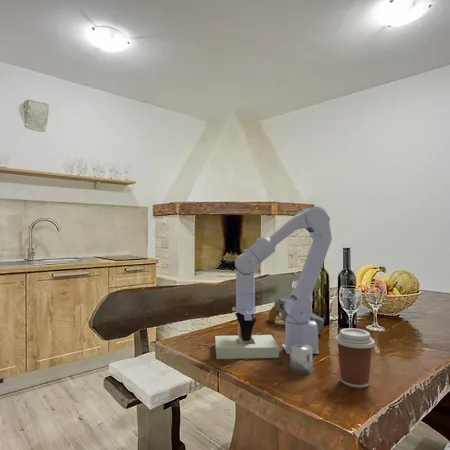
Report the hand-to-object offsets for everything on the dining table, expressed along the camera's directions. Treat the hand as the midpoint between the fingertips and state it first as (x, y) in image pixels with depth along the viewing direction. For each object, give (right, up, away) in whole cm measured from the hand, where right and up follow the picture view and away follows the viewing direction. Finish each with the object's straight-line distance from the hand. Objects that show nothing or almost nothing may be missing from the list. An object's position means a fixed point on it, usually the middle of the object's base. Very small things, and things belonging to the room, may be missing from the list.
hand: (245, 338), depth 107 cm
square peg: (0, -3, 0) cm, 3 cm away
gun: (+20, -5, +26) cm, 33 cm away
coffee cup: (+25, -4, -22) cm, 33 cm away
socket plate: (0, -4, 0) cm, 4 cm away
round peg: (+14, -4, -14) cm, 20 cm away
